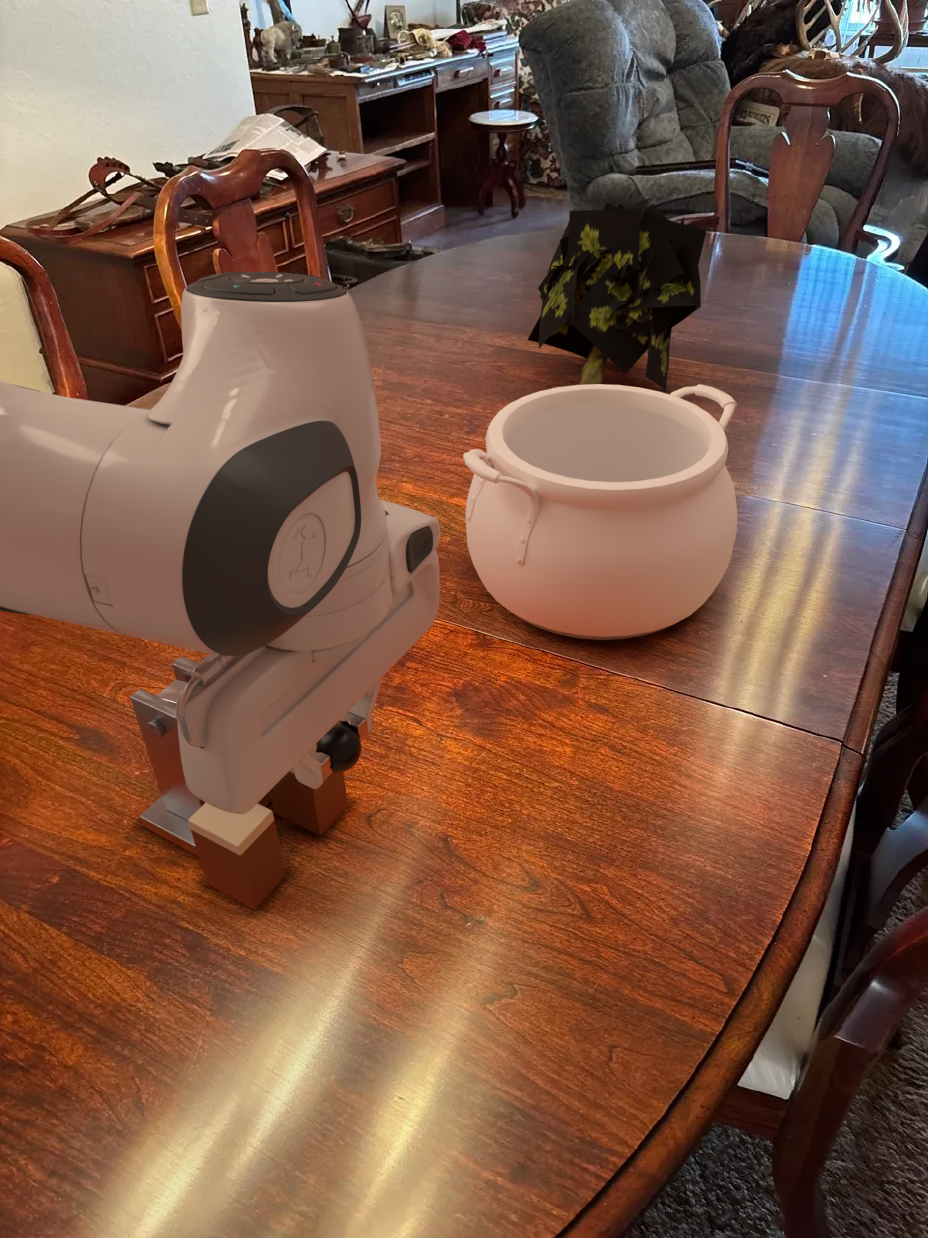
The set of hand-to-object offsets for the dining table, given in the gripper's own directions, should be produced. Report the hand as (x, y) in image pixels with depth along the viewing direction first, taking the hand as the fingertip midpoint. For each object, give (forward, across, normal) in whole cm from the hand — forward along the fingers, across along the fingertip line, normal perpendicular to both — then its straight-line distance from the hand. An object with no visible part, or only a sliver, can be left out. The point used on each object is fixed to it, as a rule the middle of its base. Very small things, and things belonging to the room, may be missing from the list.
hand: (336, 756), depth 58 cm
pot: (+13, +43, 0) cm, 45 cm away
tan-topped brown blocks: (+13, 0, +7) cm, 14 cm away
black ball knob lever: (+2, 0, +6) cm, 7 cm away
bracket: (+13, 0, +14) cm, 19 cm away
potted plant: (+13, +89, +20) cm, 92 cm away
